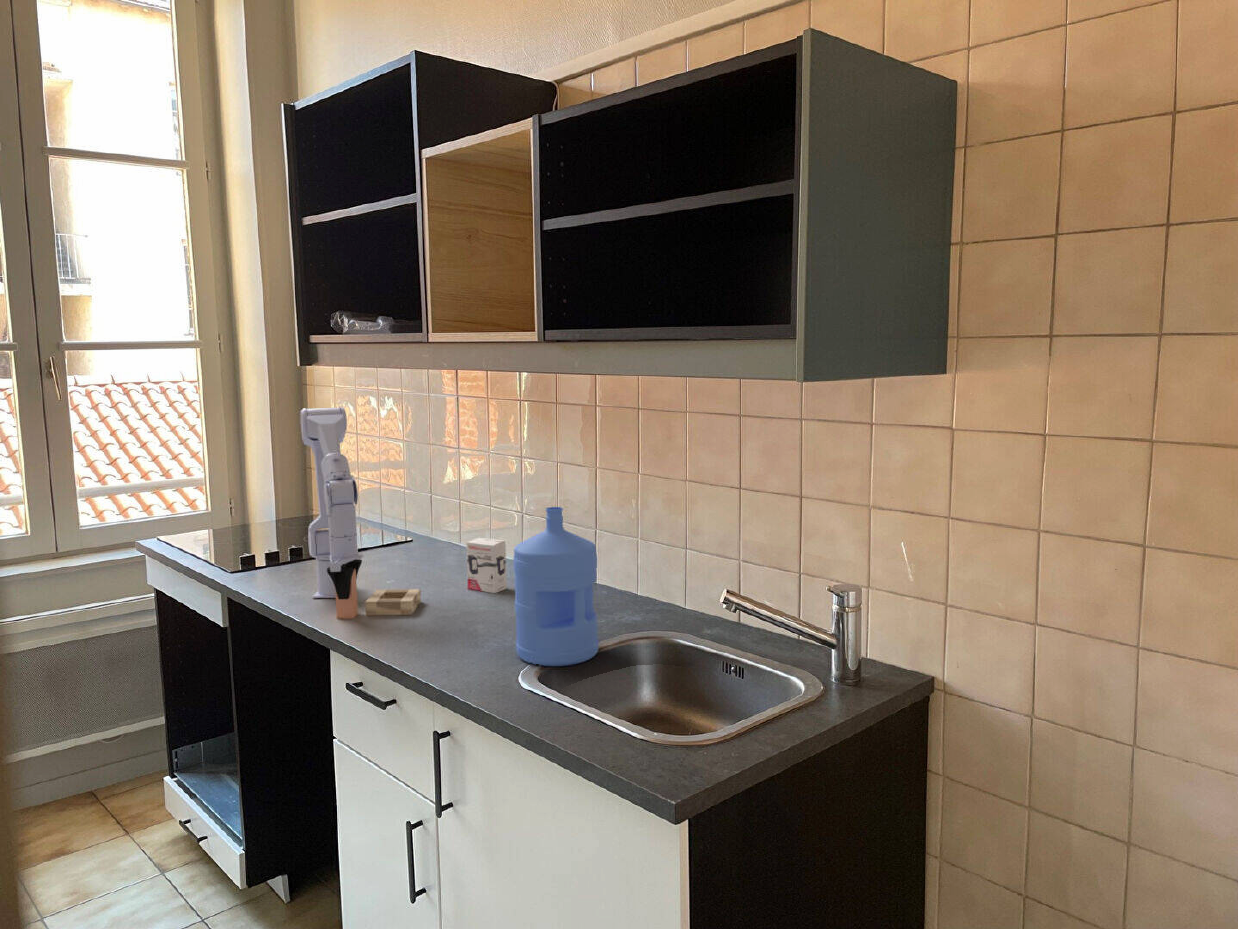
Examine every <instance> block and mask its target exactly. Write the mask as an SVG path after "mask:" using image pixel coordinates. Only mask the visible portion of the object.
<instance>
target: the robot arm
mask: <svg viewBox="0 0 1238 929" xmlns="http://www.w3.org/2000/svg"><path fill="white" fill-rule="evenodd" d="M299 412H300V413H299V416H300V417H299V419H300V429H301V430H300V431H301V440H302V442H303V445H305V446H308V447H310V449H311V451H312V453H313V457H314V458H313V459H314V470H315V481H316V492H317V493H316V494H317V504H318V516H317V517H316V518H315V519H314V520H313V521H312V522H311V523H309V526H308V529H307V531H308V532H307V534H308V535H307V539H308V540H307V541H308V544H307V545H308V552H309V555H310V556H311V557H312V558H315V562H316V565H315V566H316V580H317V582H316V584H317V591H316V592H315V593H314V594H313V595H312V599H327V598H328V599H329V598H330V599H332V598H333V599H336V594H335V589H336V593H337V596H338V599H349V596H350V587H351V579H352V575H353V572H354V570H355V569H356V580H357V578H358V574H359V571H360V567H361V565H362V563H363V560H362V559H363V558H364V557H365V556H364V553H359V551H358V547H359V546H358V535H357V534H358V532H357V514H356V512H357V510H356V505H357V504H358V498H359V492H358V491H359V490H358V485H357V482H356V479H355V478H354V475H352V473H351V470H350V469H351V468H350V466H349V460H348V458H347V457H346V456H345V455H344V454H343V453H342V452H341V444H342V443H343V442H344V438H346V437H345V436H346V431H347V428H348V419H347V411H346V409H345V408H344V407H343V406H339V407H325V408H324V407H322V408H321V407H320V408H305V407H304V408H302V409H301V410H300V411H299ZM354 504H355V505H354ZM319 529H320V530H319ZM321 529H322V530H321ZM323 529H324V530H323ZM356 586H357V584H356Z"/></svg>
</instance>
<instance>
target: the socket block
mask: <svg viewBox="0 0 1238 929" xmlns="http://www.w3.org/2000/svg"><path fill="white" fill-rule="evenodd" d="M421 602H422V596H421V588H402V589H401V588H400V589H399V588H397V589H394V588H393V589H392V588H390V589H376V590H374V592H373V593H372V594H371V595H370V596H369V597H368V598H367V600H366V601H365V603H364V605H365V616H403V615H404V616H405V615H406V616H408V615H410V616H411V615H413V614H414V612H415V611H416V610H417V608H418V607H419V605H420V603H421Z"/></svg>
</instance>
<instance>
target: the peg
mask: <svg viewBox="0 0 1238 929" xmlns="http://www.w3.org/2000/svg"><path fill="white" fill-rule="evenodd" d="M356 585H357V579H356V569H355V570H354V572H353V575H352V579H351V587H350V596H349V599H338V596H337V593H336V589H335V594H336V598H335V606H336V607H335V608H336V609H335V610H336V619H355V617H356V616H357V615H358V614H359V609H358V608H359V606H358V592H357V591H358V588H357V586H356Z"/></svg>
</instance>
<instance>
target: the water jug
mask: <svg viewBox="0 0 1238 929" xmlns="http://www.w3.org/2000/svg"><path fill="white" fill-rule="evenodd" d="M563 510H564V509H563V507H560V506H551V507H546V508H545V511H546V517H545V521H546V528H545V529H544V530H543V531H541V532H539V533H537V534H535V535H533V536H531V537H529V538H527V539H525V540H523V541H521V542H519V543H518V544H517V545H516V546H514V549H513V553H514V554H513V570H514V592H515V593H514V594H515V599H514V612H515V619H516V620H515V621H516V622H515V623H516V624H515V625H516V626H515V627H516V628H515V629H516V641H515V651H516V655H517V656H518V657H519V658H520V659H521V660H522V661H524V662H525V663H528V664H531V663H532V665H536V664H539V665H538V666H542V665H543V667H564V666H572V665H578V664H581V663H584V662H587V661H589V660H591V659H592V658H594V657H595V656H596V654H597V653H598V651H599V648H600V646H599V645H600V644H599V636H598V635H599V633H598V628H599V627H598V616H597V613H596V611H595V609H594V588H593V587H594V584H595V583H596V582H597V580H598V579H597V578H598V576H597V570H598V569H597V568H598V555H597V547H596V544H595V543H594V542H592V541H591V540H588V539H586V538H585V537H582V536H580V535H577V534H574V533H572V532H570V531H568V530H566V529H565V528H564V523H563V521H564V516H563Z"/></svg>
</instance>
